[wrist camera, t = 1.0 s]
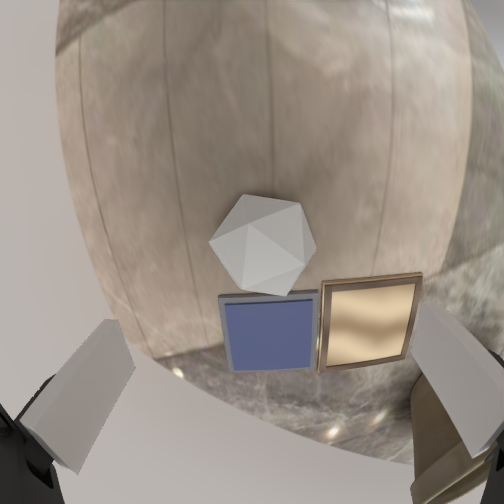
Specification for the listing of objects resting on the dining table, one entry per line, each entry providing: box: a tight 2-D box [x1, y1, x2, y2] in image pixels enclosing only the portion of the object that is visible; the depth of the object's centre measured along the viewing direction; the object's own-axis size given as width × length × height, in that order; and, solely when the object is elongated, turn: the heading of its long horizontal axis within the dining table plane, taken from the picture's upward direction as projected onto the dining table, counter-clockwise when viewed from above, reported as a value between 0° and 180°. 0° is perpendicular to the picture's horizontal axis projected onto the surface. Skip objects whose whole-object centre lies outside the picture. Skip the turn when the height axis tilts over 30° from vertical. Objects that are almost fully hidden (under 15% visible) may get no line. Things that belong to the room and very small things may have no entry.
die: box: [208, 194, 317, 296], centre depth 24 cm, size 8×9×10 cm
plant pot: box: [410, 373, 498, 504], centre depth 24 cm, size 25×25×22 cm
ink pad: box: [218, 290, 319, 372], centre depth 31 cm, size 11×11×1 cm
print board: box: [317, 272, 423, 373], centre depth 30 cm, size 13×13×1 cm
